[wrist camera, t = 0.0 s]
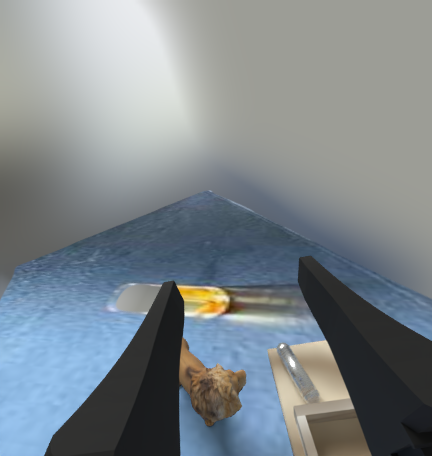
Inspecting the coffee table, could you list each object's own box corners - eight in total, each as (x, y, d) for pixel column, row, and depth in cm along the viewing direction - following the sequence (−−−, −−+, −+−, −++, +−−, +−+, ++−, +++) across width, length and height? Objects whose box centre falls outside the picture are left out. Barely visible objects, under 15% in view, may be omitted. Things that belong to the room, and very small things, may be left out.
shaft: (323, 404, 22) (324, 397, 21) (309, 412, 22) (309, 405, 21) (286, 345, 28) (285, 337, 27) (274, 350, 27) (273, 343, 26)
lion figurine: (259, 403, 24) (251, 365, 20) (235, 458, 21) (218, 427, 16) (177, 339, 33) (158, 303, 28) (151, 370, 30) (124, 335, 25)
